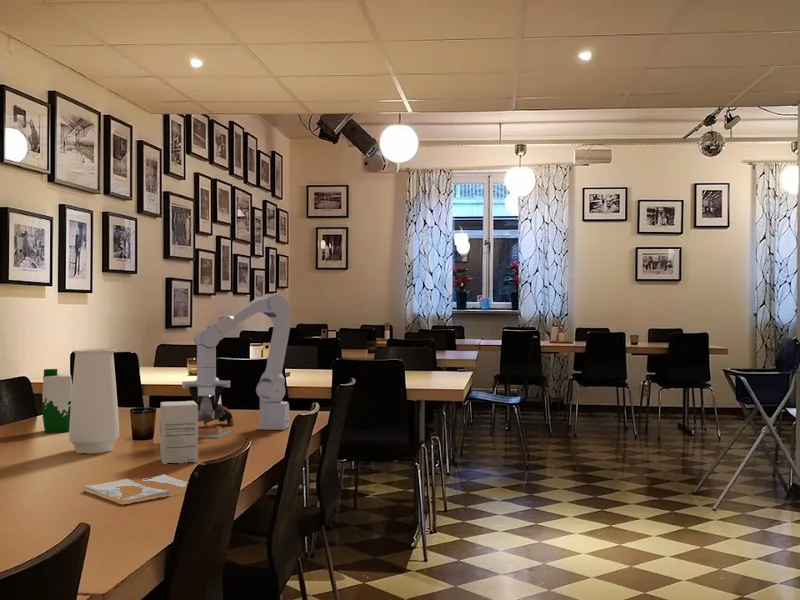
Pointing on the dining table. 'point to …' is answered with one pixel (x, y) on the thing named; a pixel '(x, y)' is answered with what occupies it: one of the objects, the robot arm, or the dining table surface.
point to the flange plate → (211, 431)
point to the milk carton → (56, 401)
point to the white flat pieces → (112, 491)
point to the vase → (94, 402)
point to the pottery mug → (221, 415)
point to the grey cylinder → (206, 406)
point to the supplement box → (178, 432)
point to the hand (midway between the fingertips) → (206, 410)
